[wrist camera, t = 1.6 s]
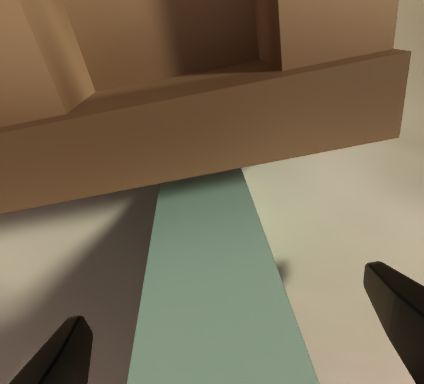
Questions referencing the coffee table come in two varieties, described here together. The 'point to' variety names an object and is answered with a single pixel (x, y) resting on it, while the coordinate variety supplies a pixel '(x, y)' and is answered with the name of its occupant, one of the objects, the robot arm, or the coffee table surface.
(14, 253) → the coffee table surface
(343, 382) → the coffee table surface
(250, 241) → the pale green block
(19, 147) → the track
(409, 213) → the coffee table surface
